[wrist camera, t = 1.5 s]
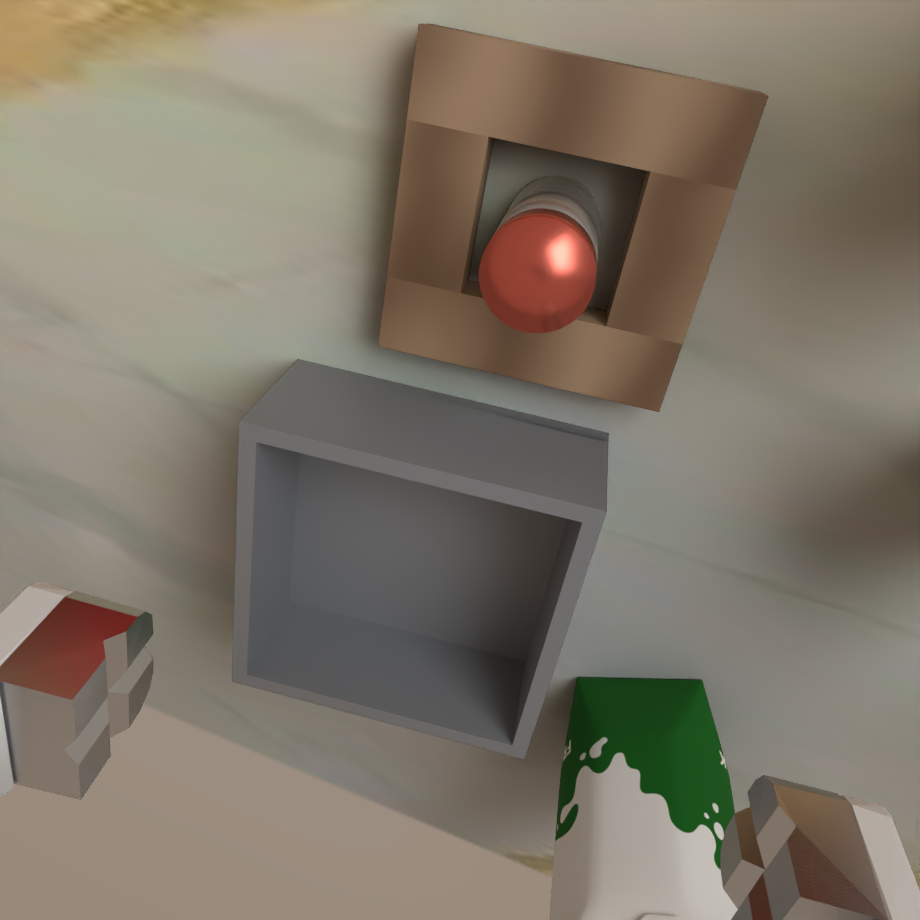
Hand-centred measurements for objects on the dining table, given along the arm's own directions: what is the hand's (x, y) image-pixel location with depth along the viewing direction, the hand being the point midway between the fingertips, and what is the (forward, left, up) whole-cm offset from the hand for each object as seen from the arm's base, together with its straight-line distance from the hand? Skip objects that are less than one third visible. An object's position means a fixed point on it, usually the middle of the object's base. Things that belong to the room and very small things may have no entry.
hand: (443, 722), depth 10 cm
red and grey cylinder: (+1, 0, -27) cm, 27 cm away
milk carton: (-11, +27, -27) cm, 40 cm away
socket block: (+1, 0, -27) cm, 27 cm away
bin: (+4, +17, -27) cm, 32 cm away
